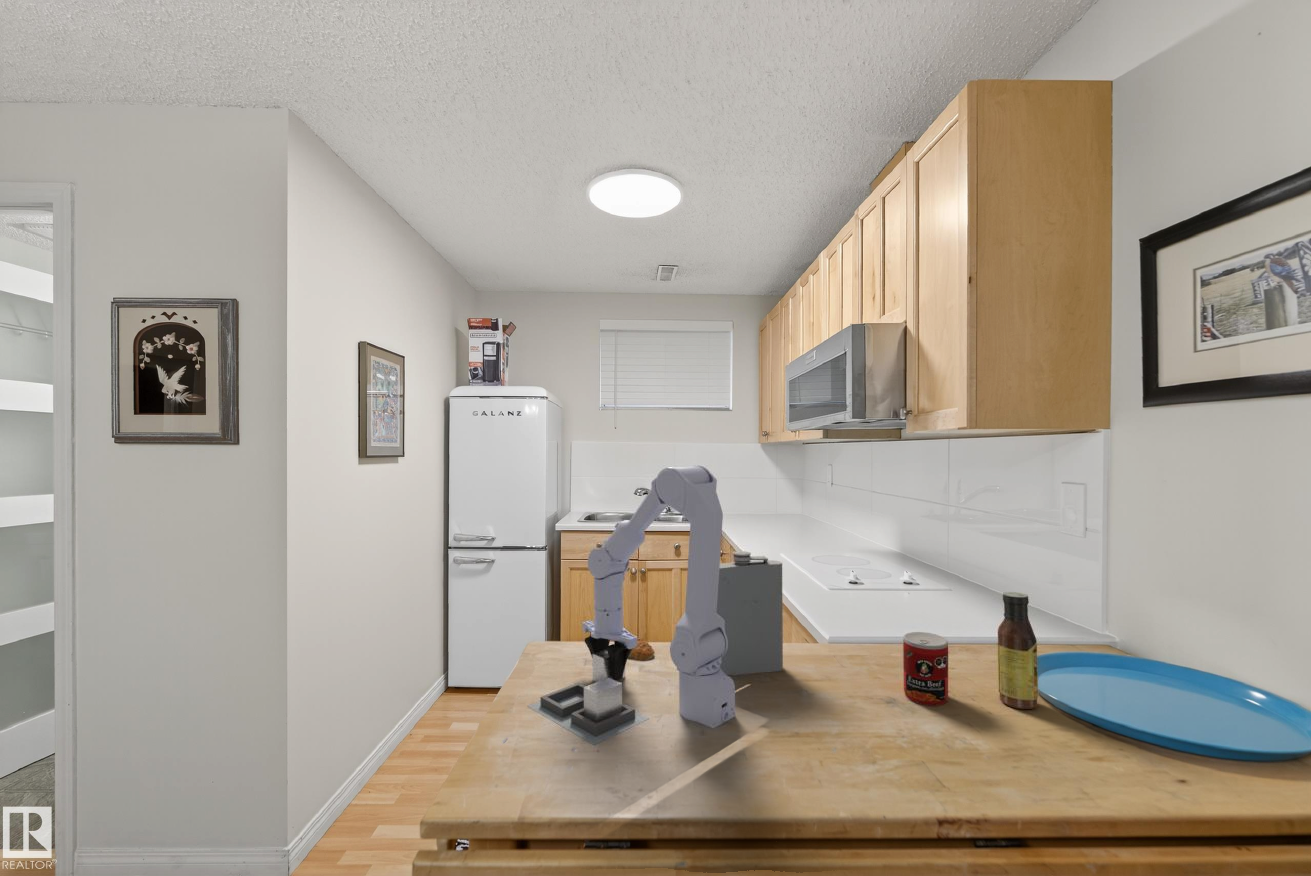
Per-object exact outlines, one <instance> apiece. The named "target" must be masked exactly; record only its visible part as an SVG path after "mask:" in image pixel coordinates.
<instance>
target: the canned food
mask: <svg viewBox="0 0 1311 876" xmlns="http://www.w3.org/2000/svg"><path fill="white" fill-rule="evenodd" d="M902 647H903V648H902V649H903V650H902V653H903V654H902V657H903V661H902V662H903V663H902V664H903V691H904V695H905V697H907V699H908V700H910V701H911V702H915V703H917V704H920V705H925V706H940V705H943V704H946V702H947V701H948V698H949V642H948V639H947V638H945V637H943V636H941V635H939V634H935V633H931V632H924V631H921V632H920V631H913V632H908V633H906V634H904V635H903V643H902Z"/></svg>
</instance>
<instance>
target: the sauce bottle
mask: <svg viewBox="0 0 1311 876" xmlns="http://www.w3.org/2000/svg"><path fill="white" fill-rule="evenodd" d="M1002 601H1003V605H1004V606H1003V607H1004V609H1003V610H1004V613H1003V616H1004V618H1003V620H1002V622H1001V623H1000V624H999V626H998V628H997V645H996V646H997V649H996V650H997V652H996V653H997V681H998V682H997V683H998V684H997V685H998V686H997V687H998V688H997V689H998V693H999V699H1000V701H1001V703H1003V704H1004V705H1007V706H1008V707H1011V708H1015V709H1020V710H1032V709H1035V708H1036V707H1037V706H1038V698H1039V684H1038V683H1039V682H1038V681H1039V679H1038V678H1039V676H1038V644H1037V643H1038V642H1037V638H1036V634H1035V632H1034V629H1033V627H1032V625H1031V622H1030V619H1029V610H1028V609H1029V607H1028V606H1029V603H1030V602H1029V595H1028V594H1025V593H1021V592H1014V591H1006V592H1003V593H1002Z"/></svg>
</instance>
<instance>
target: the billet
mask: <svg viewBox="0 0 1311 876" xmlns="http://www.w3.org/2000/svg"><path fill="white" fill-rule="evenodd" d="M585 686H586V687H584V717H585V718H587V719H589V720H591V721H593V722H595V723H599V722H601V721H603V720H606V719H608V718H610V717H612V716H614V715H617V714H619V713H621V712H622V703H623V683H622V682H620V681H618V680H617V681H615V680H613V679H611V678H607V679H604V680H601V681H599V682H594V683H592V684H589V685H585Z"/></svg>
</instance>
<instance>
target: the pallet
mask: <svg viewBox="0 0 1311 876" xmlns="http://www.w3.org/2000/svg"><path fill="white" fill-rule="evenodd" d="M586 686H587V685H585V684H583V683H581V682H577V683H574V684H572V685H569V686H566V687H564V688H560V689H558V690H555V691H552V692H550V693H547V694H544V695H541V696H540V700H539V701H536V702H534V703H531V704H528V705H527V708H529V709H531V710H533V711H534V712H536V713H538V714H540V715H541V716H543V717H545V718H547V719H548V720H550V721H552V722H554V723H555V724H557V725H559V726H561V727H563V728H564V729H566V730H568V731H569V732H571V733H572V734H575V735H577V736H578V737H580V738H581V739H583V740H585V741H586V742H588V743H590V744H591V745H594V746H596V745H598V744H600V743H602V742H603V741H606V740H609V739H610V738H612V737H615V736H617V735H618V734H621V733H623V732H625V731H627V730H628V729H630V728H633V727H635V726H638V725H639V724H642V723H643V722H645V721H647V720H649V719H650V717H647V716H645V715H643V714H641V713H639V712H637V711H636V708H634V707H631V706H629V705H628V704H625V703H623V702H622V712H621V713H619V714H617V715H614V716H612V717H610V718H608V719H606V720H603V721H601V722H599V723H595V722H593V721H591V720H589V719H587V718H585V717H584V687H586Z"/></svg>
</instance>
